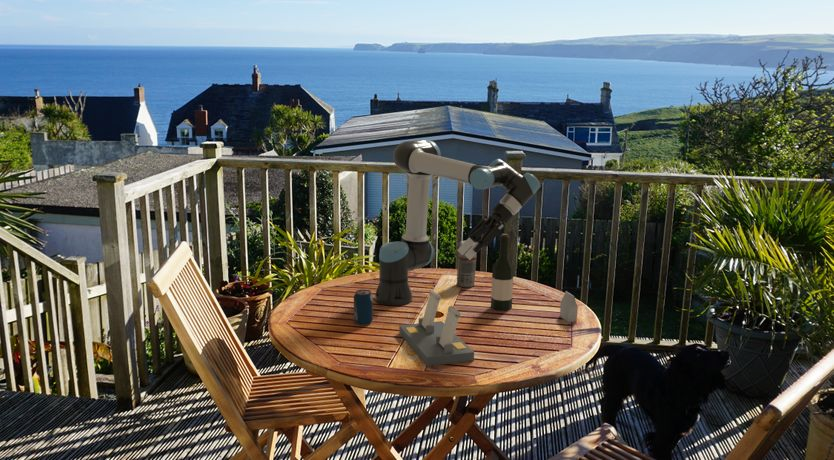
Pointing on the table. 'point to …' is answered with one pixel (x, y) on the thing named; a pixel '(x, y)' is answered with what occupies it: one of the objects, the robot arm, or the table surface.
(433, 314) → the lever
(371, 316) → the soda can
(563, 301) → the tea bag
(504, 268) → the wine bottle
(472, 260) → the spray can
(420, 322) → the switch board
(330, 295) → the table surface
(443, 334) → the lever
